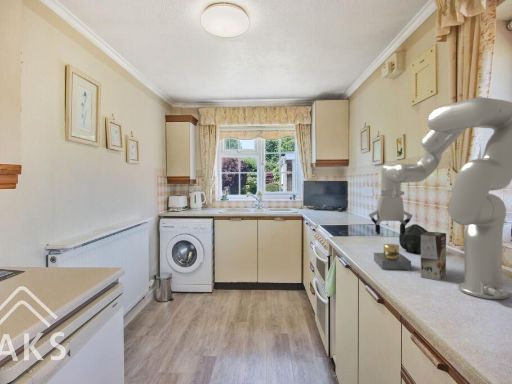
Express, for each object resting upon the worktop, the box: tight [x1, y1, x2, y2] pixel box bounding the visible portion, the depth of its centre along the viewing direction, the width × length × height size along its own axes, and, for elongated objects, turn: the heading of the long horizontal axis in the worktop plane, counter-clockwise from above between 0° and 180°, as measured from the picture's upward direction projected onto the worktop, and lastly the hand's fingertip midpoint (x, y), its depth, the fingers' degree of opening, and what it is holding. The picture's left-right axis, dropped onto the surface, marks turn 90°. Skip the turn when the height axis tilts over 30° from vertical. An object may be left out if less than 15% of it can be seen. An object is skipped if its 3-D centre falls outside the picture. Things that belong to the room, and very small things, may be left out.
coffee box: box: [420, 231, 447, 281], centre depth 112 cm, size 9×6×16 cm
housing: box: [373, 252, 412, 271], centre depth 128 cm, size 14×11×4 cm
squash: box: [398, 223, 429, 254], centre depth 150 cm, size 14×15×15 cm
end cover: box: [383, 243, 400, 258], centre depth 127 cm, size 6×6×8 cm
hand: (390, 233), depth 128 cm, fingers open, 9 cm apart
